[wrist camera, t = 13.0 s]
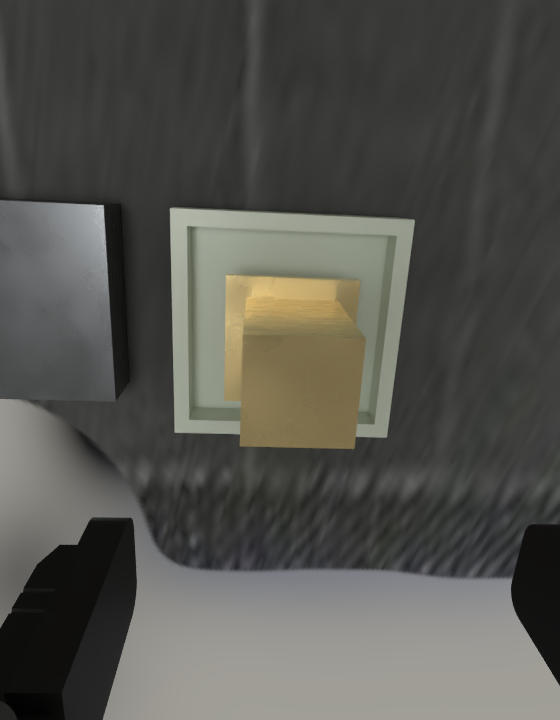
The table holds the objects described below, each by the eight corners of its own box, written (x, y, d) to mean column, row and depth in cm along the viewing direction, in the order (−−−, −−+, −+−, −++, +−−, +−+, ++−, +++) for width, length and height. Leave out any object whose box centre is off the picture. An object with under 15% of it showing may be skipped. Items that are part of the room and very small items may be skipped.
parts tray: (177, 206, 26) (169, 208, 24) (401, 217, 27) (414, 220, 25) (181, 413, 30) (174, 432, 28) (376, 418, 31) (386, 437, 28)
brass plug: (229, 265, 27) (214, 305, 17) (347, 270, 27) (397, 312, 17) (227, 377, 29) (213, 469, 19) (337, 380, 29) (377, 472, 19)
